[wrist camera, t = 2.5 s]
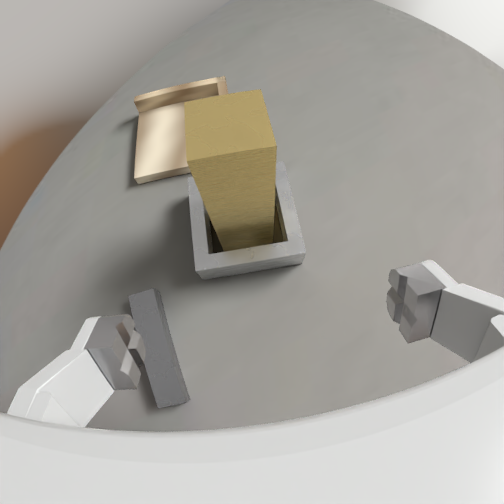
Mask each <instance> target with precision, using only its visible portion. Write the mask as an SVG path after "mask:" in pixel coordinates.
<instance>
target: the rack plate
mask: <svg viewBox="0 0 504 504" xmlns="http://www.w3.org/2000/svg"><path fill="white" fill-rule="evenodd" d="M225 94H228V90H227V85H226V79H225V76H223V77H217V78H212V79H206V80H201V81H196V82H191V83H187V84H182V85H178V86H173V87H169V88H165V89H161V90H157V91H153V92H150V93H146V94H143V95H139V96H136V97H135V98H134V103H135V105H136V107H137V109H138V111H139V120H138V130H137V142H136V155H135V172H134V179H135V180H136V182H137V183H138V184H141V183H146V182H150V181H154V180H159V179H163V178H168V177H172V176H177V175H182V174H186V173H191V171H190V169H189V166H188V164H187V160H186V140H185V113H184V102H188V101H193V100H198V99H203V98H208V97H214V96H219V95H225Z"/></svg>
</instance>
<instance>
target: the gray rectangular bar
mask: <svg viewBox="0 0 504 504" xmlns="http://www.w3.org/2000/svg"><path fill="white" fill-rule="evenodd" d="M128 298H129V303H130V307H131V312H132V316H133V320H134V322H135V329H136V332H137V333H139V334H140V335H141V337H142V339H143V342H144V345H145V360H144V364H145V368H146V371H147V375H148V378H149V381H150V385H151V388H152V391H153V394H154V397H155V401H156V404H157V407H158V408H162V407H167V406H172V405H177V404H181V403H186V402H187V401H189V400H190V397H189V394H188V391H187V388H186V385H185V381H184V378H183V375H182V372H181V369H180V365H179V362H178V359H177V355H176V352H175V348H174V345H173V341H172V338H171V334H170V330H169V327H168V323H167V319H166V315H165V311H164V307H163V303H162V299H161V295H160V292H159V291H157V290H156V289H154V288H152V289H149V290H146V291H143V292H139V293H136V294H133V295H130V296H128Z"/></svg>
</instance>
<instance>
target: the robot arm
mask: <svg viewBox="0 0 504 504" xmlns="http://www.w3.org/2000/svg"><path fill="white" fill-rule="evenodd" d="M388 281H389V283H390V284H391V286H392V287H391V288H390V290H389V291H388V293H387V301H386V302H387V309H388V312H389V315H390V317H391V318H392V320H393V321H395V322H397V323H399V324H400V327H399V331H400V332H401V334H402V335H403V337H404V338H405V340H406V341H407V343H411V342H415V341H418V340H422V339H425V338H428V337H430V338H431V339H433V340H434V341H436V342H438V343H439V344H441V345H442V346H444V347H446V348H447V349H449V350H451V351H452V352H454V353H456V354H457V355H459V356H460V357H462V358H464V359H465V360H467V361H469V362H470V363H469V364H467V365H465V366H463V367H461V368H459V369H456V370H454V371H452V372H449V373H447V374H445V375H442V376H440V377H437V378H435V379H432V380H430V381H427V382H425V383H422V384H419V385H417V386H414V387H411V388H408V389H406V390H403V391H400V392H397V393H394V394H391V395H388V396H385V397H381V398H378V399H375V400H372V401H368V402H365V403H361V404H358V405H354V406H350V407H346V408H342V409H338V410H334V411H330V412H326V413H321V414H317V415H312V416H307V417H302V418H297V419H291V420H286V421H280V422H273V423H267V424H260V425H252V426H244V427H235V428H224V429H212V430H196V431H121V430H106V429H94V428H84V427H85V426H86V425H87V423H88V422H89V421H90V420H91V419H92V417H93V416H94V415H95V414H96V413H97V411H98V410H99V409H100V408H101V407H102V405H103V404H104V403H105V402H106V401H107V399H108V398H109V397H110V396H111V395H112V393H113V392H114V390H126V389H137V388H138V384H139V380H140V376H141V372H140V370H139V367H140V366H141V365H142V364H143V363H144V360H145V345H144V342H143V339H142V337H141V335H140V334H139V333H137V332H136V331H135V330H134V327H135V322H134V320H133V319H132V317H131V316H130V315H129V314H121V315H110V316H102V317H100V316H99V317H90V318H88V319H86V321H85V323H84V324H83V326H82V328H81V330H80V332H79V334H78V336H77V337H76V339H75V341H74V343H73V345H72V347H71V349H70V350H66V351H65V352H63V353H62V354H61V355H60V356H58V357H57V358H56V359H55V360H53V361H52V362H51V363H49V364H48V365H47V366H46V367H44V368H43V369H42V370H41V371H39V372H38V373H37V374H36V375H34V376H33V377H32V378H31V379H29V380H28V381H27V382H26V383H24V384H23V385H22V386H21V387H20V388H19V389H18V391H17V393H16V395H15V397H14V399H13V401H12V403H11V405H10V408H9V410H8V412H7V414H5V413H1V412H0V504H504V298H502V297H499V296H497V295H494V294H491V293H488V292H485V291H483V290H480V289H477V288H474V287H471V286H468V285H465V284H463V283H462V284H458V283H457V282H456V281H455V280H454V279H453V278H452V277H451V276H449V275H448V274H447V273H446V272H445V271H444V270H443V269H442V268H441V267H440V266H439V265H438V264H437V263H436V262H435V261H433V260H427V261H423V262H419V263H417V264H413V265H409V266H405V267H400V268H396V269H392V270H391V271H390V273H389V280H388Z"/></svg>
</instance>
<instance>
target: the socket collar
mask: <svg viewBox="0 0 504 504" xmlns="http://www.w3.org/2000/svg"><path fill="white" fill-rule="evenodd" d="M188 192H189V205H190V218H191V230H192V241H193V251H194V261H195V271H196V272H197V273H198V275H199V276H200V277H201V278H202V279H203V280H206V279H212V278H218V277H224V276H231V275H237V274H243V273H249V272H255V271H261V270H267V269H273V268H279V267H285V266H290V265H296V264H302V262H303V260H304V257H305V254H306V251H305V246H304V242H303V237H302V233H301V229H300V224H299V220H298V216H297V212H296V208H295V203H294V199H293V195H292V191H291V187H290V183H289V179H288V176H287V172H286V168H285V164H284V161H283V162H276V181H275V202H276V207H277V212H278V216H279V221H280V226H281V230H282V235H283V240H284V242H280V243H274V244H268V245H262V246H256V247H250V248H244V249H238V250H232V251H226V252H220V253H214V254H213V246H212V237H211V229H210V220H209V215H208V212H207V210H206V208H205V205H204V203H203V200H202V198H201V195H200V193H199V191H198V188H197V186H196V183H195V181H194V178H193V177H188Z"/></svg>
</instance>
